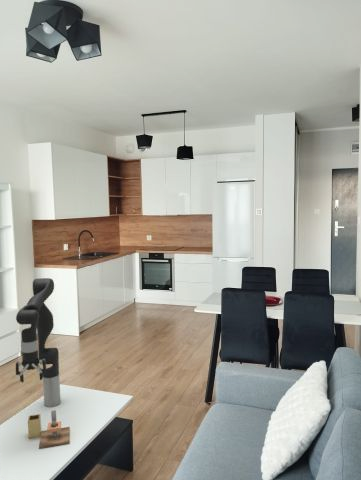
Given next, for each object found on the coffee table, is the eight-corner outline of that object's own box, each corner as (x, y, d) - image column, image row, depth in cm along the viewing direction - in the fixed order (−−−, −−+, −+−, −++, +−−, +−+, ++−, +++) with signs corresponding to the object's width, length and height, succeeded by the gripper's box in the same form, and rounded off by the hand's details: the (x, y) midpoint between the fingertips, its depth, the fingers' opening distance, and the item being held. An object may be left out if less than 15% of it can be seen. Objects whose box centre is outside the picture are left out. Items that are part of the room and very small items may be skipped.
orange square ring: (48, 426, 205) (47, 423, 205) (61, 424, 207) (61, 421, 207) (47, 432, 199) (47, 429, 199) (61, 430, 201) (60, 427, 201)
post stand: (41, 433, 208) (39, 407, 207) (69, 428, 212) (68, 402, 211) (39, 448, 195) (37, 420, 194) (69, 443, 198) (68, 416, 197)
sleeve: (29, 432, 210) (28, 415, 209) (41, 430, 211) (40, 414, 210) (28, 438, 204) (27, 421, 203) (40, 436, 206) (39, 419, 205)
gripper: (45, 345, 210) (47, 376, 211) (15, 348, 206) (17, 379, 207) (44, 350, 202) (46, 382, 204) (13, 353, 199) (15, 386, 200)
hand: (31, 380), depth 205 cm, fingers open, 8 cm apart
